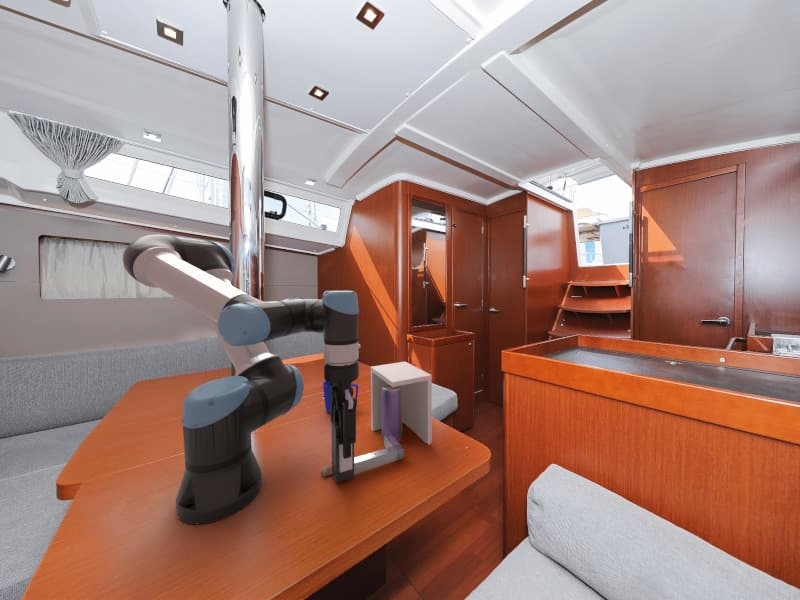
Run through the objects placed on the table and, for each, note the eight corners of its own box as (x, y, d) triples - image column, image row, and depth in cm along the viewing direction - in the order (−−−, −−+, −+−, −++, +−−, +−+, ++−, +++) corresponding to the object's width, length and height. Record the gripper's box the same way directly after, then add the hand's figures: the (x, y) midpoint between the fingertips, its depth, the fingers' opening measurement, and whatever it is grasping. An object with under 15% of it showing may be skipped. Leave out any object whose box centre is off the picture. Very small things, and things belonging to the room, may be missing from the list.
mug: (356, 415, 94) (356, 386, 94) (320, 415, 95) (319, 386, 94) (360, 405, 103) (360, 378, 102) (327, 405, 103) (326, 378, 102)
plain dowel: (321, 467, 66) (322, 477, 66) (322, 467, 65) (323, 477, 64) (369, 453, 72) (370, 461, 71) (371, 452, 70) (373, 461, 69)
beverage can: (393, 446, 77) (393, 391, 76) (377, 438, 80) (376, 386, 79) (406, 436, 82) (406, 385, 81) (390, 430, 85) (389, 381, 84)
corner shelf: (393, 456, 72) (392, 382, 71) (371, 429, 86) (370, 366, 84) (431, 443, 78) (431, 375, 76) (405, 420, 91) (405, 361, 90)
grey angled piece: (336, 483, 61) (335, 429, 60) (327, 460, 69) (326, 412, 68) (405, 460, 69) (405, 412, 68) (390, 442, 76) (390, 399, 76)
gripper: (372, 369, 56) (372, 481, 58) (346, 350, 71) (347, 440, 73) (334, 374, 53) (336, 494, 54) (316, 354, 68) (318, 448, 70)
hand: (342, 463), depth 64 cm, fingers closed on grey angled piece, 4 cm apart
